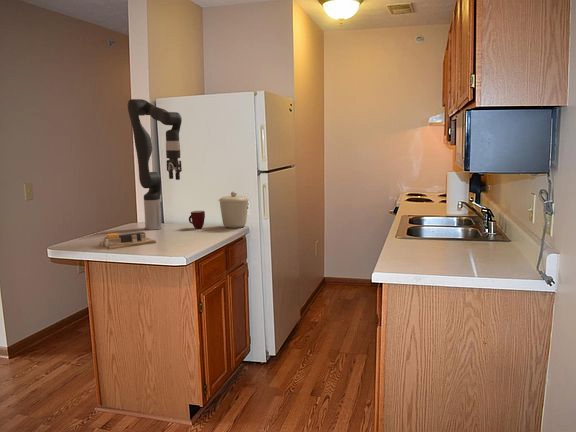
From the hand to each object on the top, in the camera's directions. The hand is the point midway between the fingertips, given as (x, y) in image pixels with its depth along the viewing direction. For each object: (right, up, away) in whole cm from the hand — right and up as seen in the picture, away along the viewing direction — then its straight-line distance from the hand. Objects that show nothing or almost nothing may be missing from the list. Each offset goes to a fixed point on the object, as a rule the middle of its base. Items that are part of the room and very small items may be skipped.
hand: (174, 179), depth 276 cm
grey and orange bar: (-18, -33, -22) cm, 44 cm away
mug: (+8, -28, +20) cm, 35 cm away
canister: (+30, -27, +24) cm, 47 cm away
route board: (-19, -34, -22) cm, 44 cm away
